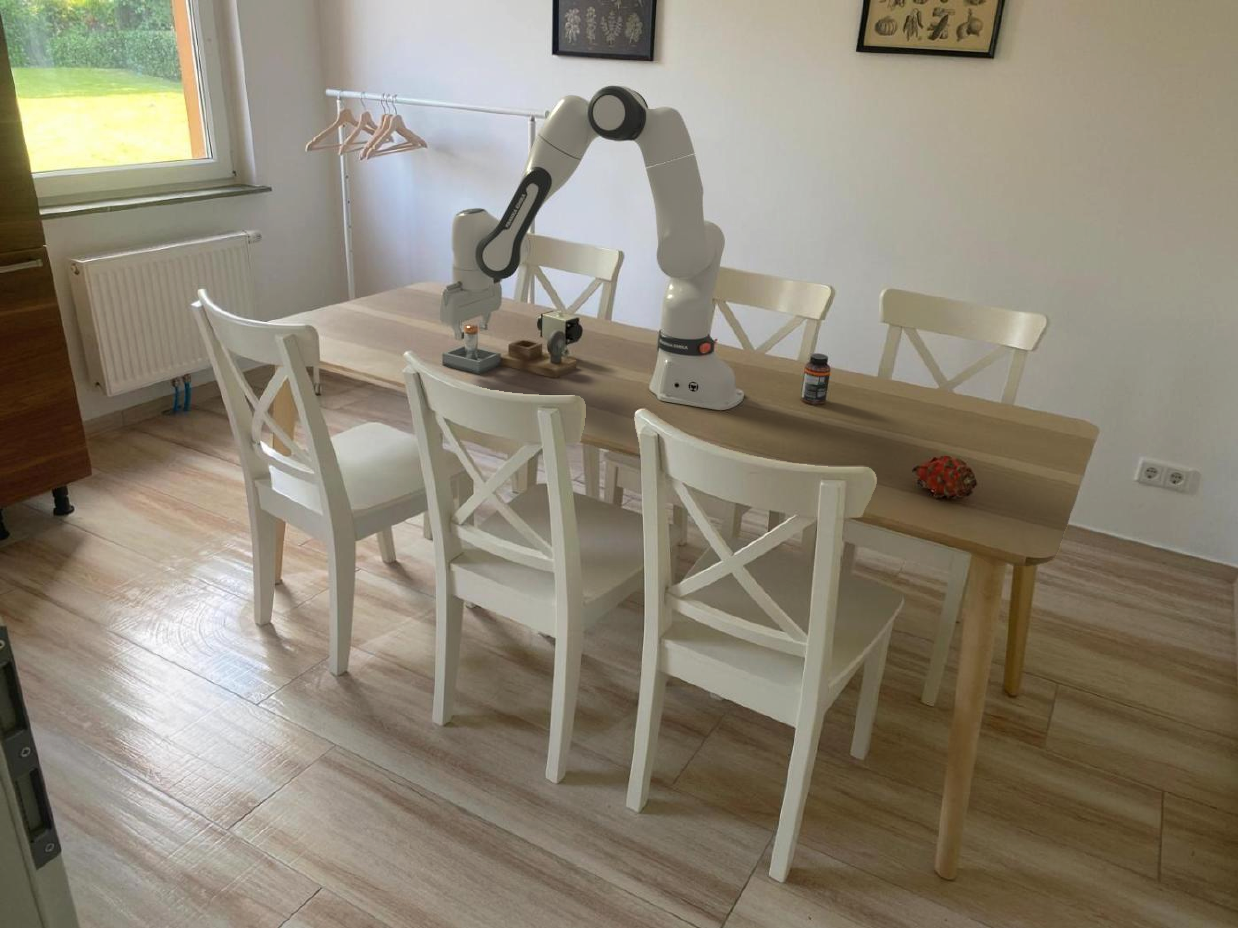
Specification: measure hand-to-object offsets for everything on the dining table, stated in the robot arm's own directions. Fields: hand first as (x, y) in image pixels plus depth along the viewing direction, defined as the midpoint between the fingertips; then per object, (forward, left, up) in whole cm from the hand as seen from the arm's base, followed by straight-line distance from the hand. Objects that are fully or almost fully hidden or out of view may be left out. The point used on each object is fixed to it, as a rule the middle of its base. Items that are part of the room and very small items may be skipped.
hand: (471, 335), depth 220 cm
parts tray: (0, 0, -8) cm, 8 cm away
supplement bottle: (-78, -28, -8) cm, 84 cm away
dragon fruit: (-114, +7, -8) cm, 115 cm away
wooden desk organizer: (-13, -9, -8) cm, 18 cm away
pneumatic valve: (-13, -19, -8) cm, 25 cm away
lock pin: (0, 0, -7) cm, 7 cm away
